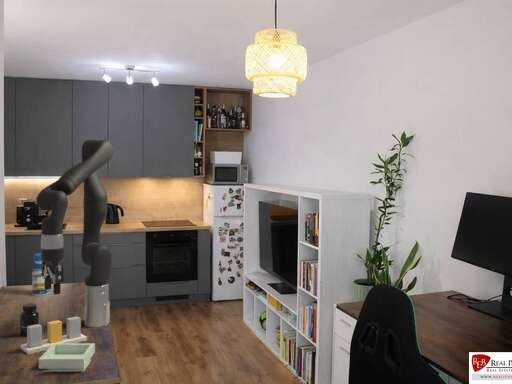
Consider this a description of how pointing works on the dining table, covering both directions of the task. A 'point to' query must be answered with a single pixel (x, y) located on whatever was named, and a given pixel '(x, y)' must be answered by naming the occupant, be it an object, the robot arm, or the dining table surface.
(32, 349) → the block
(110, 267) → the robot arm
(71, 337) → the block
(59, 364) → the sage tray
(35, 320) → the supplement bottle
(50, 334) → the block
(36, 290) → the blue vitamin bottle
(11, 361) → the dining table surface
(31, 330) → the block
